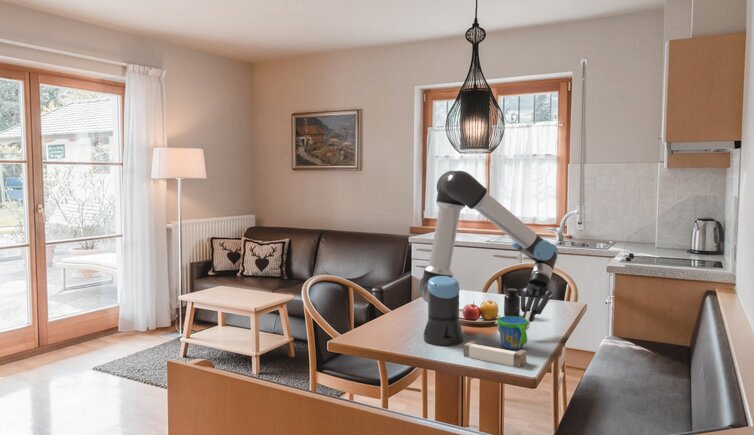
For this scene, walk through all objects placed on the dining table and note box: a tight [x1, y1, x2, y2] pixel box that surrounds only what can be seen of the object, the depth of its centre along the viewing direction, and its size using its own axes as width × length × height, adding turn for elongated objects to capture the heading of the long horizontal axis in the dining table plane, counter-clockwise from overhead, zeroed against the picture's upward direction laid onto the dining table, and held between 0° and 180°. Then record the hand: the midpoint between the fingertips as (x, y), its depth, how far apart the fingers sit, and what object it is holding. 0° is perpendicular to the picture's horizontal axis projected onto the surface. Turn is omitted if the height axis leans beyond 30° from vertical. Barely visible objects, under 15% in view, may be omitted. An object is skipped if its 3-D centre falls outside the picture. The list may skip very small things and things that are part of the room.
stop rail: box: [463, 340, 527, 369], centre depth 186 cm, size 20×6×4 cm, turn 54°
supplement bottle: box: [503, 288, 521, 317], centre depth 243 cm, size 7×7×12 cm
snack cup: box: [496, 316, 528, 351], centre depth 199 cm, size 16×10×10 cm
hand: (525, 327), depth 208 cm, fingers closed
